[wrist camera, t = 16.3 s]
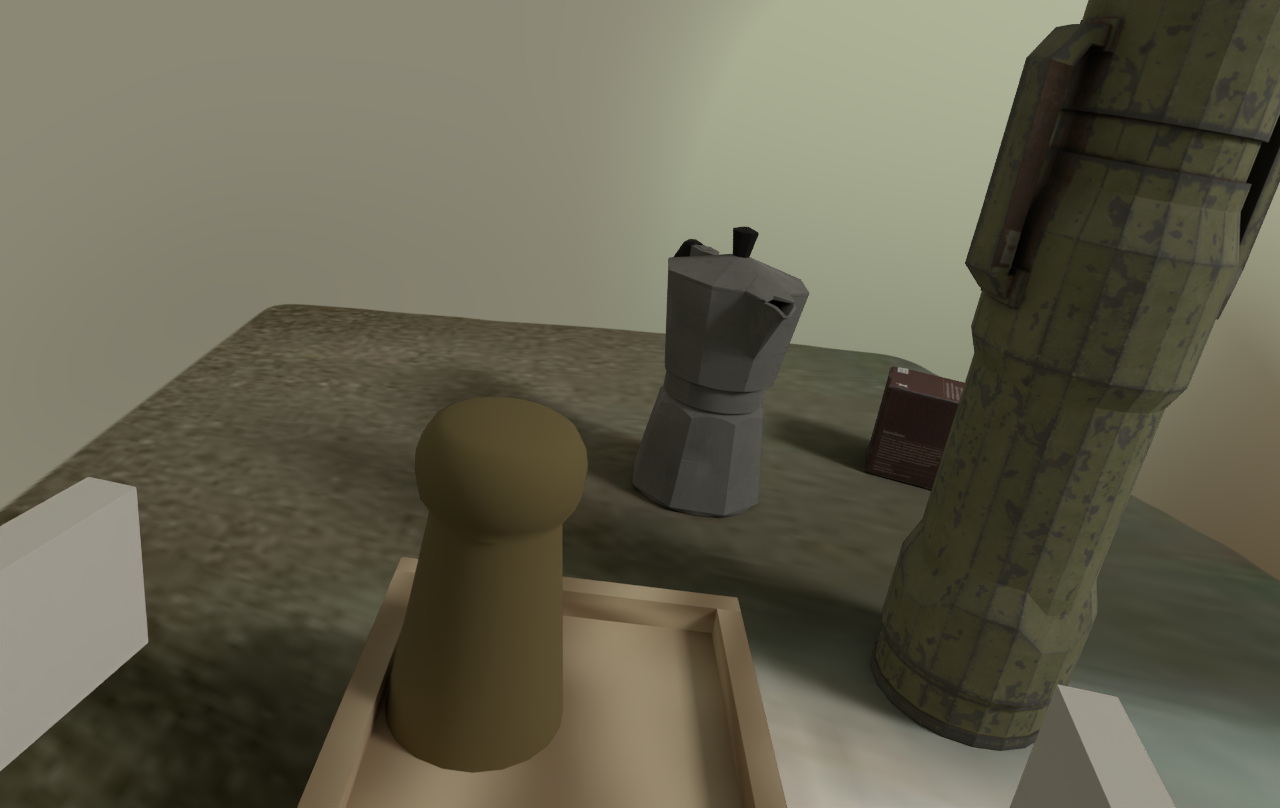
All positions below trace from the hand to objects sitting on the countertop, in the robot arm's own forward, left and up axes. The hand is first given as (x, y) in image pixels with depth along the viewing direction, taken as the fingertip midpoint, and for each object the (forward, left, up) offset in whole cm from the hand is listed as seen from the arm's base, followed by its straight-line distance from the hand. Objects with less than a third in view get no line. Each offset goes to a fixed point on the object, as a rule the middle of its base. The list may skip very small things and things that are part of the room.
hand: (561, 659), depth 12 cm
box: (-27, -52, -19) cm, 62 cm away
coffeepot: (-9, -45, -19) cm, 50 cm away
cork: (+2, -14, -14) cm, 20 cm away
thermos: (-21, -25, -19) cm, 38 cm away
